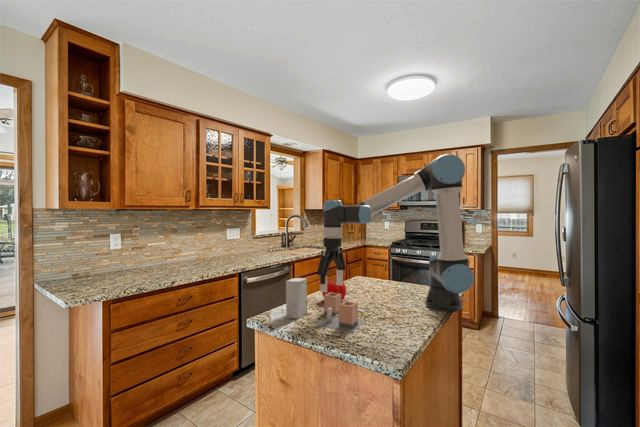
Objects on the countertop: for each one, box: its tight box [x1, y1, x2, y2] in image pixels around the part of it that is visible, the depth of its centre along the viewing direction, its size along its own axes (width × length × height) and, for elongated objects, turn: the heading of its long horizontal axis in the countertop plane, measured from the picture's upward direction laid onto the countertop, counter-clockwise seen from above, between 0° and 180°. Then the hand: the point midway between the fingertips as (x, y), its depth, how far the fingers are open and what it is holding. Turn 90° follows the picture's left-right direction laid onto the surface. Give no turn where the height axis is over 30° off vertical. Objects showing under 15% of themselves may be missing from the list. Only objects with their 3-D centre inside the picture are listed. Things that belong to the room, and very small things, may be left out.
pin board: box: [313, 308, 365, 334], centre depth 116 cm, size 16×11×6 cm
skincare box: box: [285, 277, 308, 320], centre depth 127 cm, size 8×6×15 cm
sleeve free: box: [323, 292, 342, 316], centre depth 128 cm, size 5×5×8 cm
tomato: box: [321, 279, 347, 301], centre depth 146 cm, size 12×12×10 cm
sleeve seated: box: [338, 300, 359, 329], centre depth 114 cm, size 5×5×8 cm
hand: (331, 288), depth 128 cm, fingers open, 13 cm apart
